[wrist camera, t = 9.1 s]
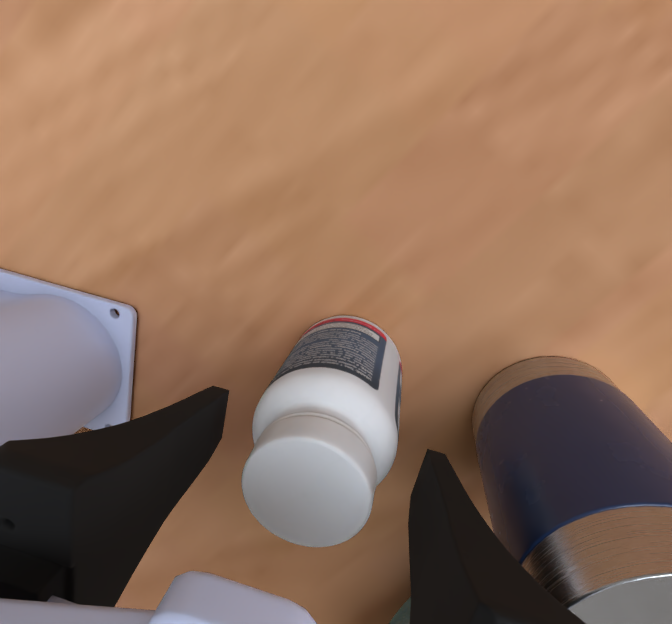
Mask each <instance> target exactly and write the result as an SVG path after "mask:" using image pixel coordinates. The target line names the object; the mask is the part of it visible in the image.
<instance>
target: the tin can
mask: <svg viewBox="0 0 672 624" xmlns="http://www.w3.org/2000/svg"><path fill="white" fill-rule="evenodd" d="M472 427H473V433H474V438H475V442H476V451H477V457H478V462H479V467H480V472H481V476H482V481H483V485H484V490H485V495H486V499H487V504H488V509H489V513H490V518H491V523H492V527H493V532H494V534H495V535H496V537H497V538H498V539H499V540H500V542H501V543H502V544H503V545H504V547H505V548H506V549H507V550H508V551H509V552H510V553H511V555H512V556H513V557H514V558H515V559H516V560H517V561H518V562H519V563H520V564H521V565H522V567H523V568H524V569H525V570H526V571H527V572H528V573H529V574H530V575H531V576H532V577H533V578H534V579H535V580H536V581H537V582H538V583H539V584H540V585H541V586H542V587H544V588H545V589H546V590H547V591H548V592H549V593H550V594H551V595H552V596H553V597H554V598H556V599H557V600H558V601H559V602H560V603H561V604H563V605H564V606H565V607H566V608H567V609H569V610H570V611H571V612H572V613H574V614H575V615H576V616H577V617H579V618H580V619H581V620H582V621H583V622H585V623H586V624H672V443H671V442H670V441H669V439H668V438H667V437H666V436H665V435H664V434H663V433H662V432H661V431H660V430H659V429H658V428H657V427H656V426H655V425H654V424H653V422H652V421H651V420H650V419H649V418H648V417H647V416H646V415H645V414H644V413H643V412H642V411H641V410H640V409H639V408H638V407H637V405H636V404H635V403H634V402H633V401H632V400H631V399H630V398H628V397H627V396H626V395H625V394H624V393H623V392H621V391H620V390H619V389H618V388H617V386H616V385H615V384H614V383H613V382H612V381H611V380H610V379H609V378H608V377H607V376H606V375H604V374H603V373H602V372H601V371H599V370H597V369H596V368H594V367H592V366H590V365H588V364H586V363H584V362H581V361H578V360H575V359H570V358H565V357H539V358H532V359H528V360H524V361H521V362H519V363H516V364H514V365H512V366H510V367H508V368H506V369H504V370H503V371H501V372H500V373H498V374H497V375H496V376H495V377H493V378H492V379H491V380H490V381H489V382H488V383H487V385H486V386H485V387H484V388H483V390H482V391H481V393H480V394H479V396H478V398H477V400H476V403H475V406H474V409H473V416H472Z"/></svg>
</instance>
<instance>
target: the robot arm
mask: <svg viewBox="0 0 672 624" xmlns="http://www.w3.org/2000/svg"><path fill="white" fill-rule="evenodd" d="M115 309H116V310H118V312H119V315H117V314H116V312H115ZM136 325H137V313H136V311H135V309H134V308H133V307H132V306H130V305H127V304H124V303H120V302H117V301H113V300H110V299H106V298H103V297H99V296H96V295H92V294H89V293H85V292H82V291H78V290H74V289H71V288H67V287H64V286H60V285H57V284H53V283H50V282H46V281H43V280H39V279H36V278H32V277H29V276H25V275H22V274H18V273H15V272H11V271H8V270H4V269H1V268H0V624H317V623H316V622H315V621H314V619H313V618H312V617H311V615H310V614H309V613H308V611H307V610H306V609H305V608H304V607H302V606H300V605H298V604H296V603H295V602H293V601H291V600H289V599H286V598H283V597H280V596H277V595H274V594H271V593H268V592H265V591H262V590H259V589H256V588H253V587H250V586H247V585H244V584H241V583H238V582H236V581H233V580H230V579H227V578H224V577H221V576H218V575H215V574H212V573H207V572H199V571H189V572H186V573H184V574H181V575H178V576H176V577H175V578H174V580H173V582H172V583H171V585H170V587H169V588H168V590H167V592H166V594H165V595H164V597H163V599H162V600H161V602H160V604H159V606H158V607H157V609H156V610H144V609H131V608H118V607H115V605H116V603H117V601H118V599H119V598H120V596H121V594H122V592H123V590H124V589H125V587H126V585H127V583H128V581H129V580H130V578H131V576H132V574H133V573H134V571H135V569H136V567H137V566H138V564H139V562H140V560H141V559H142V557H143V555H144V554H145V552H146V550H147V548H148V547H149V545H150V543H151V542H152V540H153V539H154V537H155V535H156V534H157V532H158V530H159V529H160V527H161V525H162V524H163V522H164V521H165V519H166V518H167V516H168V515H169V513H170V512H171V511H172V509H173V508H174V507H175V505H176V504H177V503H178V501H179V500H180V499H181V497H182V496H183V495H184V493H185V492H186V491H187V489H188V488H189V487H190V485H191V484H192V483H193V481H194V480H195V479H196V477H197V476H198V475H199V473H200V472H201V471H202V469H203V468H204V467H205V465H206V464H207V463H208V461H209V460H210V458H211V456H212V454H213V453H214V451H215V449H216V447H217V446H218V444H219V442H220V440H221V438H222V433H223V427H224V421H225V414H226V408H227V401H228V395H229V390H226V389H223V388H219V387H216V386H212V387H209V388H207V389H205V390H203V391H201V392H198V393H196V394H194V395H192V396H190V397H188V398H186V399H184V400H181V401H179V402H177V403H175V404H173V405H170V406H168V407H166V408H163V409H161V410H158V411H156V412H153V413H151V414H148V415H146V416H143V417H140V418H137V419H134V420H131V421H130V417H131V401H132V386H133V371H134V356H135V340H136ZM110 425H112V426H110ZM82 427H86V428H89V429H92V431H88V432H83V433H77V434H74V433H75V432H77V431H78V430H79V429H81V428H82ZM408 528H409V556H410V581H411V607H410V624H586V623H585V622H583V621H582V620H581V619H580V618H579V617H577V616H576V615H575V614H574V613H572V612H571V611H570V610H569V609H567V608H566V607H565V606H564V605H563V604H561V603H560V602H559V601H558V600H557V599H556V598H554V597H553V596H552V595H551V594H550V593H549V592H548V591H547V590H546V589H545V588H544V587H542V586H541V585H540V584H539V583H538V582H537V581H536V580H535V579H534V578H533V577H532V576H531V575H530V574H529V573H528V572H527V571H526V570H525V569H524V568H523V567H522V565H521V564H520V563H519V562H518V561H517V560H516V559H515V558H514V557H513V556H512V555H511V553H510V552H509V551H508V550H507V549H506V548H505V547H504V545H503V544H502V543H501V542H500V540H499V539H498V538H497V537H496V535H495V534H494V533H493V532H492V530H491V529H490V528H489V526H488V525H487V523H486V522H485V521H484V519H483V518H482V516H481V515H480V513H479V512H478V510H477V509H476V507H475V506H474V504H473V503H472V501H471V499H470V498H469V496H468V494H467V493H466V491H465V489H464V488H463V486H462V484H461V482H460V480H459V479H458V477H457V475H456V473H455V471H454V469H453V468H452V466H451V464H450V462H449V460H448V458H447V457H446V455H445V454H443V453H440V452H436V451H433V450H429V449H427V452H426V455H425V457H424V460H423V463H422V466H421V468H420V471H419V474H418V477H417V480H416V482H415V485H414V488H413V491H412V494H411V499H410V509H409V522H408Z"/></svg>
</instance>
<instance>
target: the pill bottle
mask: <svg viewBox="0 0 672 624" xmlns="http://www.w3.org/2000/svg"><path fill="white" fill-rule="evenodd" d="M401 386H402V365H401V359H400V355H399V353H398V350H397V348H396V346H395V344H394V343H393V341H392V340H391V339H390V337H389V336H388V335H387V334H386V333H385V332H384V331H383V330H382V329H381V328H380V327H378V326H377V325H375V324H374V323H372V322H370V321H368V320H365V319H362V318H359V317H354V316H334V317H330V318H326V319H324V320H321V321H319V322H317V323H316V324H314V325H313V326H311V327H310V328H309V329H308V330H307V331H306V332H305V333H304V334H303V335H302V337H301V338H300V339H299V341H298V342H297V344H296V345H295V347H294V348H293V350H292V351H291V353H290V354H289V356H288V357H287V359H286V360H285V362H284V363H283V365H282V366H281V368H280V369H279V371H278V372H277V374H276V375H275V377H274V378H273V380H272V381H271V383H270V384H269V386H268V387H267V389H266V390H265V392H264V394H263V395H262V397H261V399H260V401H259V403H258V405H257V407H256V410H255V413H254V417H253V425H252V432H253V433H252V434H253V441H254V448H253V449H252V451H251V453H250V455H249V457H248V459H247V461H246V463H245V466H244V468H243V472H242V481H241V482H242V491H243V496H244V499H245V501H246V504H247V506H248V507H249V509H250V511H251V513H252V514H253V516H254V517H255V518H256V519H257V520H258V521H259V522H260V524H261V525H263V526H264V527H265V528H266V529H267V530H269V531H270V532H271V533H273V534H275V535H276V536H278V537H280V538H282V539H284V540H286V541H288V542H291V543H294V544H298V545H302V546H307V547H327V546H333V545H336V544H340V543H342V542H345V541H347V540H349V539H350V538H352V537H353V536H355V535H356V534H357V533H358V532H359V531H360V530H361V529H362V528H363V526H364V525H365V523H366V522H367V520H368V518H369V516H370V513H371V510H372V504H373V499H374V493H375V489H376V486H377V485H378V484H379V483H380V482H381V481H382V480H383V479H384V478H385V477H386V475H387V474H388V472H389V471H390V469H391V467H392V465H393V462H394V460H395V456H396V452H397V446H398V437H399V420H400V404H401Z"/></svg>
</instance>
